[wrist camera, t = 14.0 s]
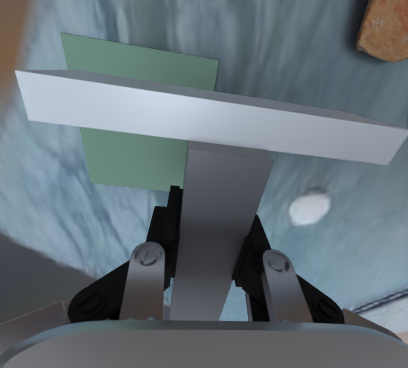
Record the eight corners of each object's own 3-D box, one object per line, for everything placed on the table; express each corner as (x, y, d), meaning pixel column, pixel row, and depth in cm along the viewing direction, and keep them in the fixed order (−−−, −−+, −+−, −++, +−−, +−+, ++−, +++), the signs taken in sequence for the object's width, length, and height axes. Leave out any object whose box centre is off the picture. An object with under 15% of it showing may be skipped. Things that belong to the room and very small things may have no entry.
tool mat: (218, 60, 21) (218, 60, 21) (197, 193, 31) (197, 194, 31) (62, 33, 20) (60, 32, 20) (92, 181, 30) (91, 182, 29)
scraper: (343, 111, 11) (439, 138, 7) (269, 267, 18) (294, 331, 13) (79, 69, 9) (-15, 70, 5) (106, 259, 16) (75, 328, 12)
